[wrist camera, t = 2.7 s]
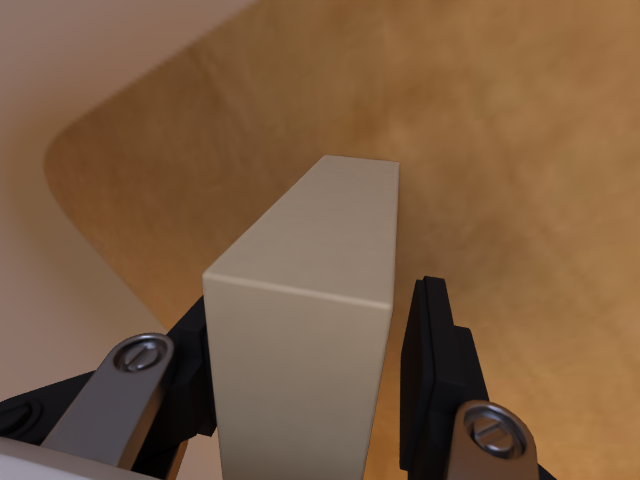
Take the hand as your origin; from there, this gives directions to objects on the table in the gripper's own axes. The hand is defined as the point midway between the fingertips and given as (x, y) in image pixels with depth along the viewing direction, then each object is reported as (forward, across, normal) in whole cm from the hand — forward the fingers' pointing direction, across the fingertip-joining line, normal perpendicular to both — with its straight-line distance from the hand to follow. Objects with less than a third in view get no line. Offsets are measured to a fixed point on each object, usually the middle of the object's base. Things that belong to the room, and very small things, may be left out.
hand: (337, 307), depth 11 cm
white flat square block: (+3, 0, 0) cm, 3 cm away
